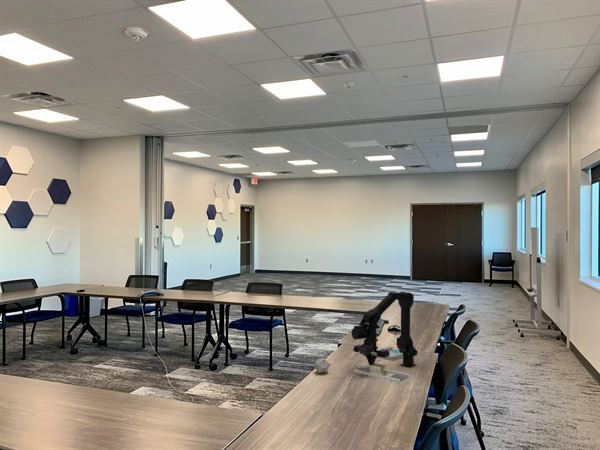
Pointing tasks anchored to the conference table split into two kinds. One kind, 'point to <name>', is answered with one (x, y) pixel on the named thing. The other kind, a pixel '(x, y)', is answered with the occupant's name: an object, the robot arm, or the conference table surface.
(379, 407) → the conference table surface
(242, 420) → the conference table surface
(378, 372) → the birch block
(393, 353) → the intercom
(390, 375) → the trap lane
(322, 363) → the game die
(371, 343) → the robot arm
